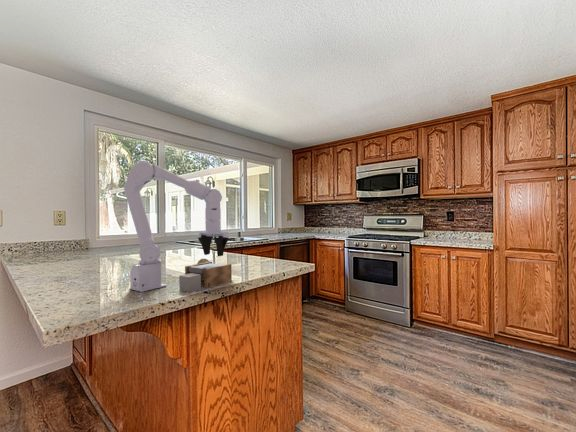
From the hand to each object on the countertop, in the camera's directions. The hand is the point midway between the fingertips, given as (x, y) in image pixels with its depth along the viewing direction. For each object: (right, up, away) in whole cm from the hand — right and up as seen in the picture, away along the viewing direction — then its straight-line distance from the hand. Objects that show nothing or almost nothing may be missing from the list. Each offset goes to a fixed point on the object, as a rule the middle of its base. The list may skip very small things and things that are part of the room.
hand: (213, 255), depth 111 cm
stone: (-5, -10, -12) cm, 17 cm away
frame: (-1, -10, -2) cm, 10 cm away
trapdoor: (-2, -5, -2) cm, 6 cm away
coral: (-7, -10, +13) cm, 18 cm away
